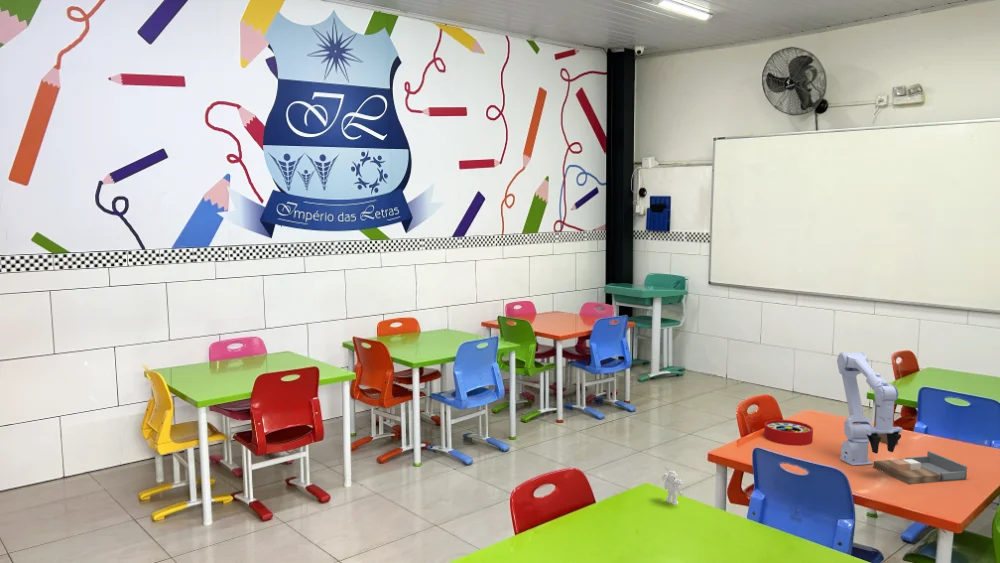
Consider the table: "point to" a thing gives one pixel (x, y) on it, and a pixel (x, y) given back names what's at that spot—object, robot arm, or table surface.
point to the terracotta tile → (899, 465)
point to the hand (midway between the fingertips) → (882, 452)
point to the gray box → (942, 466)
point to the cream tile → (913, 464)
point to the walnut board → (908, 473)
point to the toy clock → (788, 432)
